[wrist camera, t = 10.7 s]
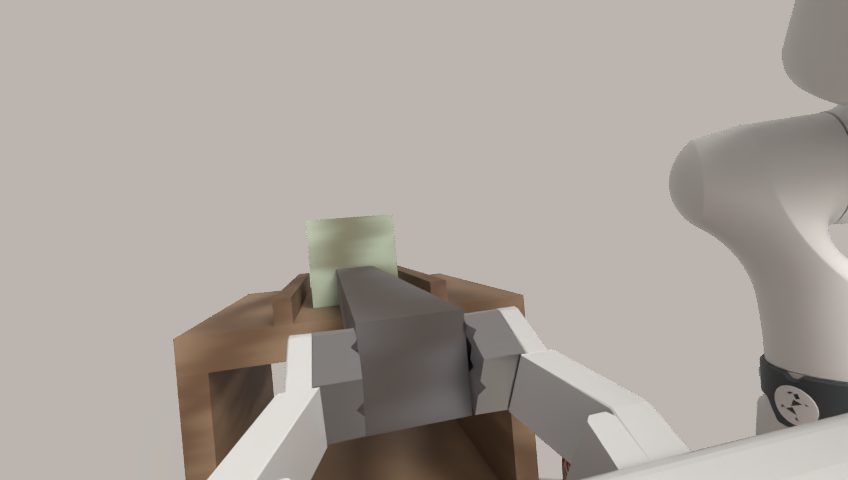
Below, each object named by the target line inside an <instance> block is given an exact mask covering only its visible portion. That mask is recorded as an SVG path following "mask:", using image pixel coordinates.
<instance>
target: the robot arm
mask: <svg viewBox="0 0 848 480" xmlns="http://www.w3.org/2000/svg"><path fill="white" fill-rule="evenodd" d="M782 60H783V65H784V69H785V71H786V73H787V75H788V76H789V78H790V79H791V80H792V81H793V82H794V83H795V84H796V85H797V86H798V87H800V88H801V89H803V90H805V91H807V92H808V93H810V94H812V95H815V96H817V97H819V98H821V99H824V100H827V101H830V102H833V103H836V104H838V105H837V106H836V107H834V108H833V109H831V110H828V111H824V112H820V113H817V114H811V115H804V116H798V117H791V118H785V119H778V120H772V121H765V122H759V123H752V124H746V125H739V126H736V127H733V128H730V129H726V130H723V131H720V132H716V133H713V134H711V135H707V136H704V137H701V138H699V139H696V140H693V141H690V142H689V143H688V144H687V145H686V146H685V147H684V148H683V149H682V151H681V152H680V153H679V155H678V156H677V158H676V160H675V162H674V164H673V166H672V169H671V172H670V178H669V189H670V194H671V198H672V201H673V203H674V205H675V207H676V208H677V210H678V211H679V212H680V214H681V215H682V216H683V217H684V218H685V219H686V220H688V221H689V222H690V223H691V224H693V225H695V226H696V227H698V228H700V229H702V230H704V231H706V232H708V233H709V234H711V235H712V236H714V237H716V238H717V239H718V240H719V241H721V242H722V243H723V244H724V245H725V246H727V247H728V248H729V249H730V250H731V251H732V253H733V254H734V255H735V256H736V257H737V258H738V259H739V261H740V262H741V264H742V265H743V266H744V268H745V269H746V271H747V273H748V275H749V277H750V279H751V281H752V284H753V287H754V290H755V293H756V298H757V302H758V308H759V313H760V320H761V326H762V335H763V345H764V354H763V355H762V356H761V357H760V367H759V376H761V388H762V391H763V392H764V393H765V394H763V395H762V396H760V397H759V399H758V402H757V419H756V436H753V437H749V438H745V439H741V440H737V441H733V442H729V443H725V444H721V445H717V446H713V447H708V448H705V449H701V450H697V451H691V450H690V449H689V448H688V447H687V446H686V444H685V443H684V442H683V441H682V440H681V439H680V437H679V436H678V435H677V434H676V433H675V431H674V430H673V429H672V428H671V427H670V426H669V424H668V423H667V422H666V421H665V420H664V419H663V417H662V416H661V415H660V414H659V413H658V412H657V410H655V408H654V407H653V406H652V405H651V404H650V402H648V401H647V400H645V399H643V398H641V397H639V396H638V395H636V394H634V393H632V392H630V391H628V390H627V389H625V388H623V387H621V386H619V385H617V384H616V383H614V382H612V381H610V380H608V379H606V378H605V377H603V376H601V375H599V374H597V373H595V372H594V371H592V370H590V369H588V368H586V367H584V366H583V365H581V364H579V363H577V362H575V361H573V360H571V359H570V358H568V357H566V356H564V355H562V354H560V353H559V352H557V351H555V350H553V349H552V350H547V349H546V347H545V346H544V345H543V343H542V342H541V340H540V339H539V338H538V336H537V335H536V333H535V332H534V330H533V329H532V328H531V326H530V325H529V323H528V322H527V321H526V319H525V318H524V316H523V315H522V314H521V312H520V311H519V309H518V308H517V307H515V306H511V307H505V308H498V309H495V310H494V309H493V310H486V311H479V312H472V313H465V314H464V325H465V334H466V344H467V356H468V368H469V373H468V375H469V386H470V397H471V406H472V408H473V411H474V413H475V415H478V414H484V413H490V412H496V411H502V410H509V412H510V413H511V414H512V415H514V416H515V417H516V418H517V419H518V420H519V421H521V422H522V423H523V424H524V425H525V426H526V427H528V428H529V429H530V430H531V431H532V432H534V433H535V434H536V435H537V436H538V437H539V438H541V439H542V440H543V441H544V442H545V443H547V444H548V445H549V446H550V447H551V448H552V449H554V450H555V451H556V452H557V453H558V454H560V455H561V456H562V457H563V458H564V459H565V460H566V461H568V462H569V463H570V464H571V466H570V468H569V471H568V474H567V477H566V479H565V480H848V257H845V256H843V255H842V254H841V253H840V252H839V251H838V250H837V248H836V247H835V245H834V244H833V242H832V240H831V237H830V234H829V229H828V225H831V224H843V223H848V0H795V4H794V8H793V11H792V15H791V19H790V23H789V27H788V30H787V34H786V38H785V42H784V46H783V49H782ZM285 372H286V373H285V385H284V393H280V394H277V395H276V396H275V397H274V398H273V399H272V401H271V402H270V403H269V404H268V405H267V407H266V408H265V409H264V410H263V412H262V413H261V414H260V415H259V416H258V418H257V419H256V420H255V421H254V423H253V424H252V425H251V426H250V428H249V429H248V430H247V431H246V432H245V434H244V435H243V436H242V437H241V439H240V440H239V441H238V442H237V444H236V445H235V446H234V447H233V448H232V450H231V451H230V452H229V453H228V455H227V456H226V457H225V458H224V459H223V461H222V462H221V463H220V464H219V466H218V467H217V468H216V469H215V471H214V472H213V473H212V474H211V475H210V477H209V478H208V479H207V480H311V478H312V476H313V474H314V473H315V471H316V469H317V467H318V465H319V463H320V461H321V459H322V457H323V455H324V453H325V451H326V449H327V445H328V444H333V443H337V442H342V441H346V440H351V439H355V438H360V437H364V436H365V415H364V407H363V402H364V394H363V379H362V371H361V363H360V356H359V354H358V344H357V335H356V330H355V328H351V329H342V330H333V331H324V332H314V333H309V334H300V335H291V336H289V338H288V342H287V357H286V371H285Z"/></svg>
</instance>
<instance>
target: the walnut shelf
mask: <svg viewBox="0 0 848 480" xmlns="http://www.w3.org/2000/svg"><path fill="white" fill-rule="evenodd" d="M397 271H398V278H399V279H402V280H404V281H406V282H408V283H410V284H412V285H414V286H416V287H418V288H420V289H422V290H425V291H427V292H429V293H431V294H433V295H435V296H437V297H439V298H441V299H443V300H446V301H448V302H450V303H452V304H454V305H456V306H458V307H460V308H462V309H464V314H465V313H472V312H479V311H486V310H493V309H494V310H495V309H498V308H505V307H511V306H515V307H517V308H518V309H519V311H520V312H521V314H522V315H523V316H524V318H525V311H524V299H523V295H521V294H516V293H513V292H509V291H505V290H501V289H497V288H494V287H490V286H486V285H482V284H478V283H474V282H470V281H466V280H462V279H458V278H455V277H450V276H447V275H443V274H432V275H427V274H424V273H420V272H417V271H414V270H410V269H407V268H404V267H400V266H397ZM342 329H344V326H343V321H342V316H341V311H340V306H339V305H337V306H328V307H320V308H313V299H312V288H310V276H309V273H306V274H299V275H298V276H297V277H296V278H295V279H294V280H292V281H291V282H290V283H289V284H288V285H287V286H286V287H285V288H284V289H283V290H282V291H274V292H264V293H255V294H248V295H247V296H245V297H243V298H242V299H240V300H238V301H237V302H235V303H234V304H232V305H230V306H228V307H227V308H225V309H223V310H222V311H220V312H218V313H217V314H215V315H213V316H212V317H210V318H208V319H207V320H205V321H203V322H201V323H200V324H198V325H197V326H195V327H193V328H191V329H190V330H188V331H186V332H185V333H183V334H181V335H180V336H178V337H176V338H175V339H173V342H174V353H175V364H176V376H177V387H178V398H179V409H180V419H181V432H182V442H183V454H184V464H185V476H186V480H207V479H208V478H209V477H210V475H211V474H212V473H213V472H214V471H215V469H216V468H217V467H218V466H219V464H220V463H221V462H222V461H223V459H224V458H225V457H226V456H227V455H228V453H229V452H230V451H231V450H232V448H233V447H234V446H235V445H236V444H237V442H238V441H239V440H240V439H241V437H242V436H243V435H244V434H245V432H246V431H247V430H248V429H249V428H250V426H251V425H252V424H253V423H254V421H255V420H256V419H257V418H258V416H259V415H260V414H261V413H262V412H263V410H264V409H265V408H266V407H267V405H268V404H269V403H270V402H271V401H272V399H273V398H274V393H273V382H272V370H271V364H272V363H279V362H286V357H287V342H288V338H289V336H291V335H300V334H309V333H314V332H324V331H333V330H342ZM311 480H539V477H538V466H537V453H536V441H535V433H534V432H532V431H531V430H530V429H529V428H528V427H526V426H525V425H524V424H523V423H522V422H521V421H519V420H518V419H517V418H516V417H515V416H514V415H512V414H511V413H510V412H509V410H502V411H496V412H490V413H484V414H478V415H475V413H474V411H473V408H472V416H467V417H462V418H457V419H452V420H447V421H442V422H437V423H432V424H427V425H422V426H417V427H412V428H407V429H402V430H397V431H392V432H387V433H382V434H377V435H372V436H367V437H365V436H364V437H360V438H355V439H351V440H346V441H342V442H337V443H333V444H328V445H327V449H326V451H325V453H324V455H323V457H322V459H321V461H320V463H319V465H318V467H317V469H316V471H315V473H314V474H313V476H312V478H311Z"/></svg>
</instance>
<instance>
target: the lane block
mask: <svg viewBox="0 0 848 480" xmlns="http://www.w3.org/2000/svg"><path fill="white" fill-rule="evenodd" d="M306 230H307V242H308V253H309V263H310V264H309V265H310V275H311V288H312V299H313V308H320V307H328V306H337V305H339V306H340V311H341V316H342V321H343V326H344V329H351V328H355V330H356V335H357V344H358V354H359V356H360V363H361V371H362V379H363V394H364V402H363V407H364V415H365V437H367V436H372V435H377V434H382V433H387V432H392V431H397V430H402V429H407V428H412V427H417V426H422V425H427V424H432V423H437V422H442V421H447V420H452V419H457V418H462V417H467V416H472V406H471V397H470V386H469V375H468V373H469V368H468V356H467V344H466V334H465V325H464V309H462V308H460V307H458V306H456V305H454V304H452V303H450V302H448V301H446V300H443V299H441V298H439V297H437V296H435V295H433V294H431V293H429V292H427V291H425V290H422V289H420V288H418V287H416V286H414V285H412V284H410V283H408V282H406V281H404V280H402V279H399V278H398V271H397V260H396V248H395V236H394V224H393V215H379V216H364V217H350V218H336V219H321V220H307V221H306Z"/></svg>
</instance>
